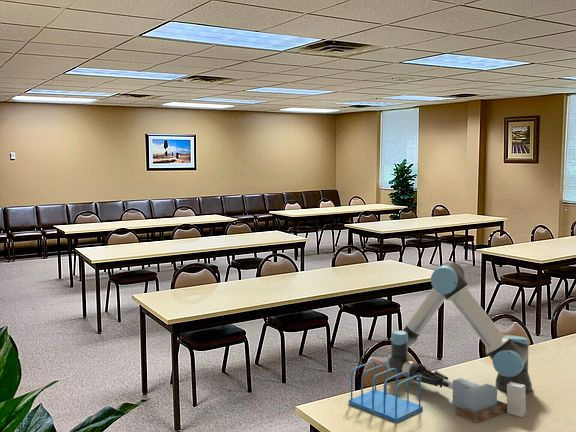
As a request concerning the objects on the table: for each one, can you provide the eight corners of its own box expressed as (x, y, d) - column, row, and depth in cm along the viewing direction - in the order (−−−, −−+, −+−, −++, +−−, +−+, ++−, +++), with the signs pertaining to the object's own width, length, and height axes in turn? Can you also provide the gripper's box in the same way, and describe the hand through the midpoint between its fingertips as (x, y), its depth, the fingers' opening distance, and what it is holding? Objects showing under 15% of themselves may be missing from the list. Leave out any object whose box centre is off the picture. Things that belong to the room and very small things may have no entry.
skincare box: (525, 414, 231) (526, 384, 230) (521, 418, 227) (522, 387, 226) (510, 410, 235) (511, 380, 234) (506, 413, 231) (506, 384, 231)
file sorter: (348, 404, 242) (348, 368, 241) (374, 393, 254) (374, 359, 253) (396, 423, 224) (396, 384, 223) (423, 410, 236) (423, 373, 234)
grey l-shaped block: (467, 399, 246) (468, 376, 246) (496, 411, 233) (497, 387, 233) (445, 405, 240) (445, 382, 239) (473, 418, 227) (474, 393, 226)
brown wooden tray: (486, 403, 242) (486, 396, 242) (507, 411, 234) (507, 404, 233) (455, 414, 231) (456, 406, 231) (476, 423, 223) (476, 415, 223)
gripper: (424, 376, 266) (466, 392, 247) (404, 382, 259) (445, 399, 239) (424, 360, 266) (466, 375, 246) (404, 365, 258) (445, 381, 239)
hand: (456, 386), depth 243 cm, fingers closed
